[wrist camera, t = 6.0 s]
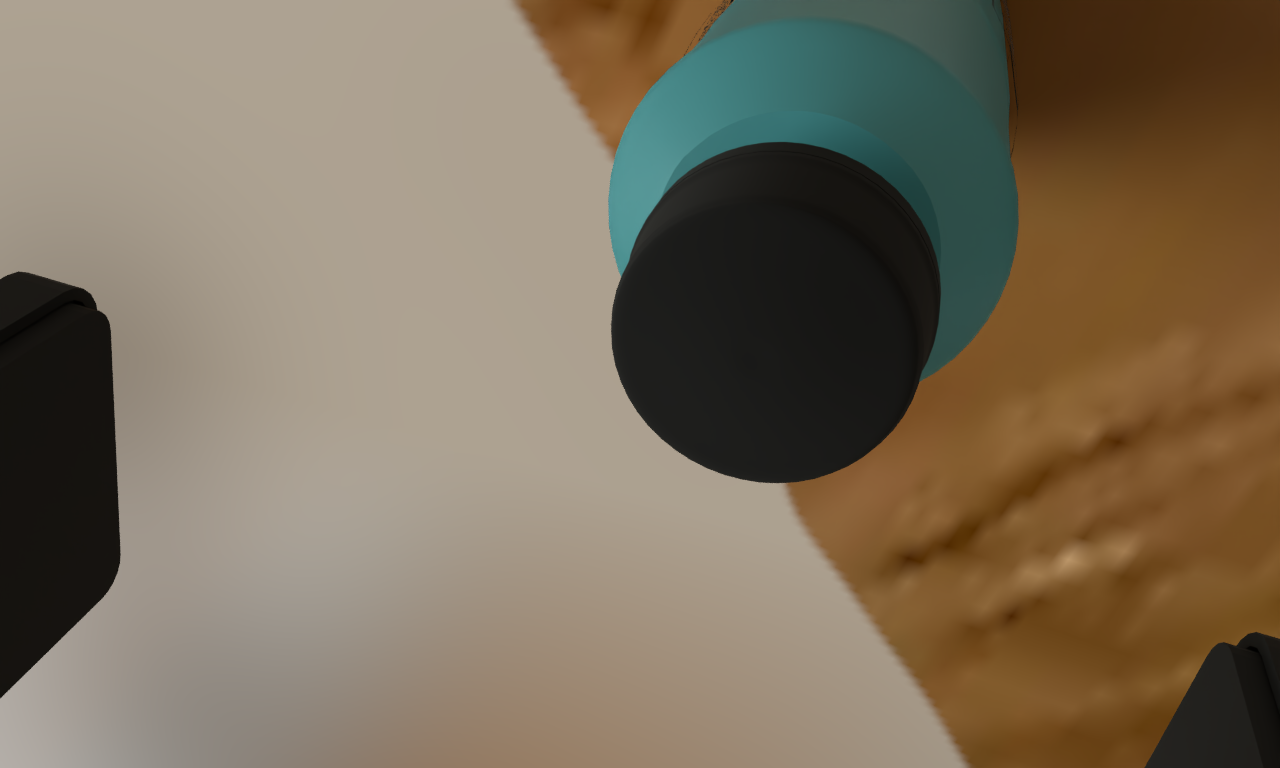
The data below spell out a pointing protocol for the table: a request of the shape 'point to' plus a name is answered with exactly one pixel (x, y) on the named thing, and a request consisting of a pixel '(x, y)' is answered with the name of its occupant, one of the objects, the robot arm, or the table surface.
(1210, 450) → the table surface
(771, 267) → the beverage bottle
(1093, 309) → the table surface
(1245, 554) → the table surface
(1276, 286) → the table surface
